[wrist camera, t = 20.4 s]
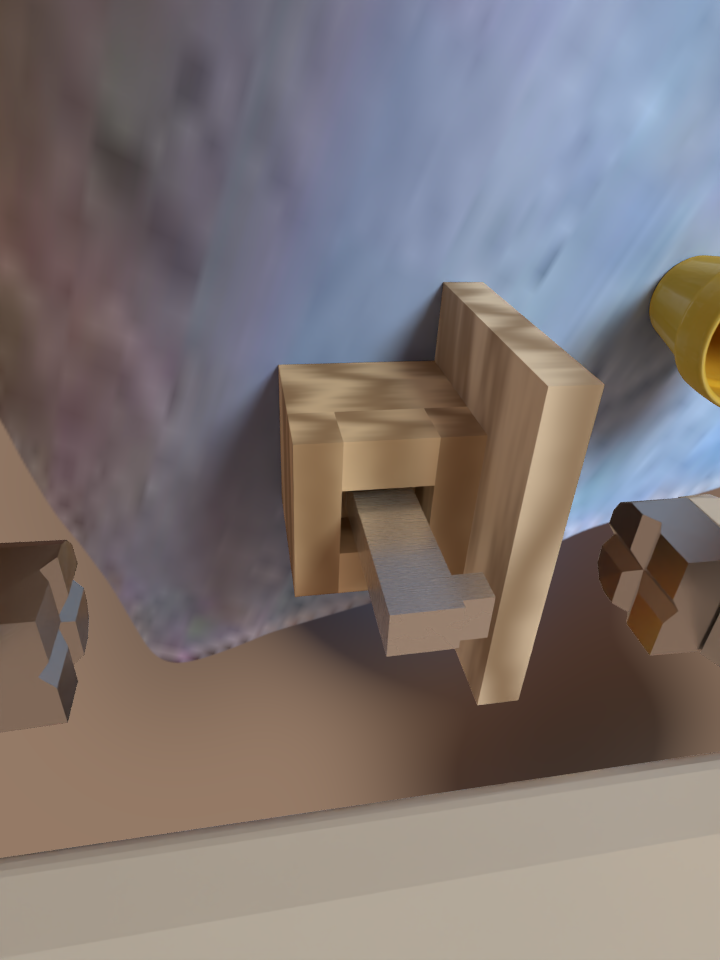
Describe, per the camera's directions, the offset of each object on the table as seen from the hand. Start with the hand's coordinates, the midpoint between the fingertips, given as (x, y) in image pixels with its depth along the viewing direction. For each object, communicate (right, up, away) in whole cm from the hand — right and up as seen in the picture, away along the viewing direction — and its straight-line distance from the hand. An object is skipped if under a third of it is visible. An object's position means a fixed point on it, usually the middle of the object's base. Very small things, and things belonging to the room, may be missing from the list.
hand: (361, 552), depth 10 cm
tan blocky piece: (+1, +5, +42) cm, 42 cm away
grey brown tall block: (+1, +1, +35) cm, 35 cm away
